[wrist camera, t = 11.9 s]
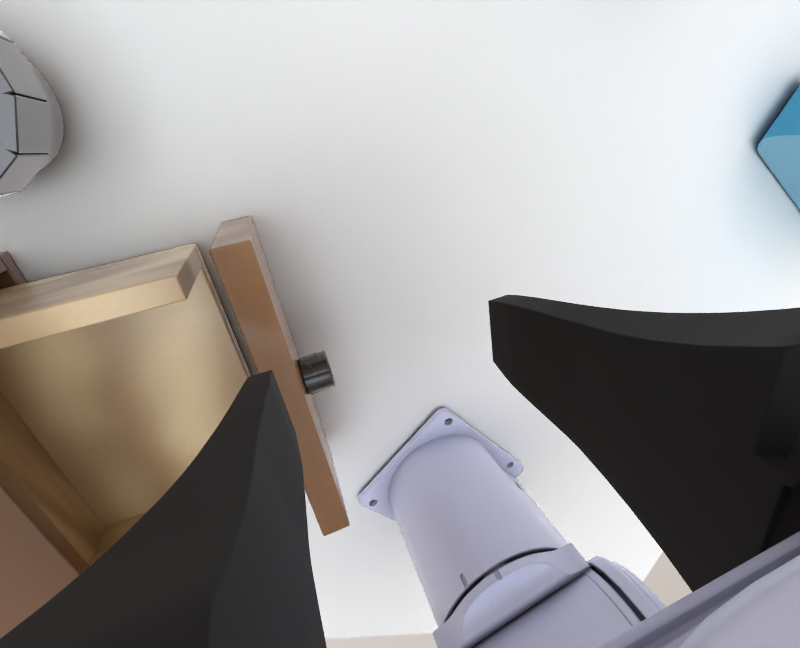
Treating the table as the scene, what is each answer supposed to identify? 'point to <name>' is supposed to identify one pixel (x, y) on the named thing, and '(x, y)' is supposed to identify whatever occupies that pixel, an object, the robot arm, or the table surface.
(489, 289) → the table surface
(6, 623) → the cabinet
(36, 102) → the dark grey hollow cylinder
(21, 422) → the drawer
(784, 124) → the data package
